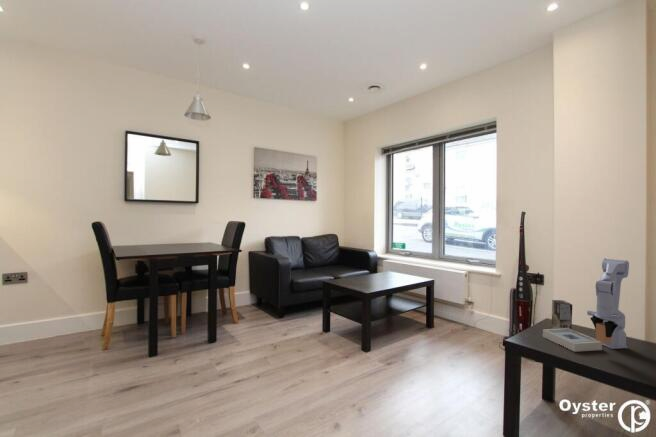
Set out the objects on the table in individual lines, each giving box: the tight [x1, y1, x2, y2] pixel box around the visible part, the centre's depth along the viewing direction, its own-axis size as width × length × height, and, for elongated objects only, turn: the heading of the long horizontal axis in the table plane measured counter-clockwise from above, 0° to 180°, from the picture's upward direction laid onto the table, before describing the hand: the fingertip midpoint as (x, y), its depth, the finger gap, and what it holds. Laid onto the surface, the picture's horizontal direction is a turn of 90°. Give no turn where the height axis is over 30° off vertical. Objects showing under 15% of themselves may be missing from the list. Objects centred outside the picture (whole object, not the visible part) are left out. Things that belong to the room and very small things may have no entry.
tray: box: [542, 328, 603, 353], centre depth 160 cm, size 16×18×4 cm
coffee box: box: [551, 299, 573, 330], centre depth 178 cm, size 9×6×16 cm
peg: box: [595, 323, 612, 343], centre depth 146 cm, size 4×4×8 cm
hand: (603, 335), depth 146 cm, fingers closed on peg, 4 cm apart
